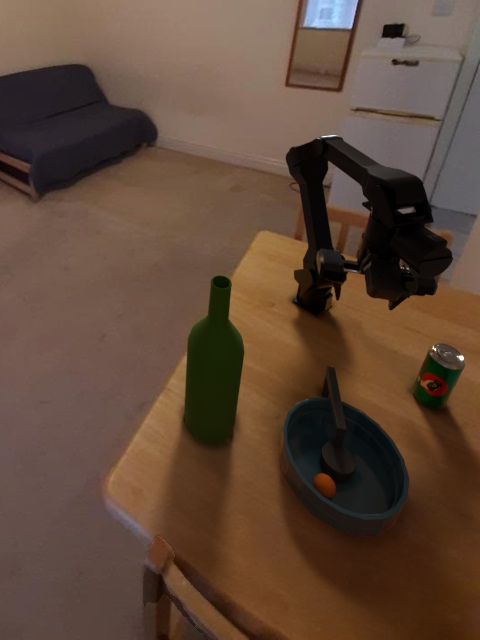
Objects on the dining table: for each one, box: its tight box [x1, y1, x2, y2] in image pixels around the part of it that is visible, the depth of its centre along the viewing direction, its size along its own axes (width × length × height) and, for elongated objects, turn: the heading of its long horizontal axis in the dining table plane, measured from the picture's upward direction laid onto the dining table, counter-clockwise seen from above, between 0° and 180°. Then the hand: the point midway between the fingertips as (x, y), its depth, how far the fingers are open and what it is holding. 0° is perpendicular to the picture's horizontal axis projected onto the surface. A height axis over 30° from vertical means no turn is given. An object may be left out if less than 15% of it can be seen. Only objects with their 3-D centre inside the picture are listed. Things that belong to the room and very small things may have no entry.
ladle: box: [319, 365, 356, 483], centre depth 68 cm, size 16×5×7 cm, turn 162°
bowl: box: [278, 396, 410, 538], centre depth 64 cm, size 17×17×6 cm
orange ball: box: [314, 473, 336, 498], centre depth 61 cm, size 3×3×3 cm
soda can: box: [412, 342, 466, 410], centre depth 72 cm, size 5×5×12 cm
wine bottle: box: [183, 274, 245, 446], centre depth 66 cm, size 9×9×32 cm
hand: (363, 303), depth 79 cm, fingers open, 9 cm apart
